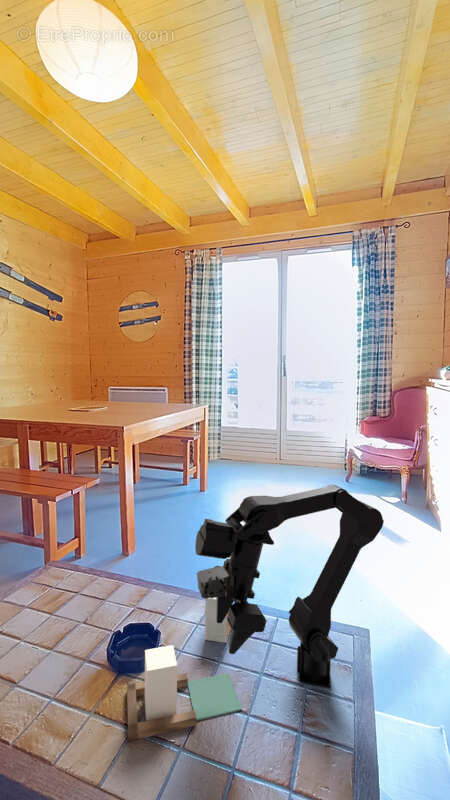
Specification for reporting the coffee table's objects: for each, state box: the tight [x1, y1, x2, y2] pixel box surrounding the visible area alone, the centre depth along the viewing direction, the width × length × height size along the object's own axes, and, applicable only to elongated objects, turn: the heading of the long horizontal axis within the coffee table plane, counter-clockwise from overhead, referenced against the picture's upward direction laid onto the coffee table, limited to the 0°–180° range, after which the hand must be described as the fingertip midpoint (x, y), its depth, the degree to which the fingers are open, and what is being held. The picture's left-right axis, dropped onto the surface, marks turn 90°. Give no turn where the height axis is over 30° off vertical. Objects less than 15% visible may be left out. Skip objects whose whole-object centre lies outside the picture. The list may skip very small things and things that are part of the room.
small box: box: [204, 597, 234, 644], centre depth 93 cm, size 8×6×10 cm
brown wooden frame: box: [126, 672, 197, 742], centre depth 71 cm, size 12×11×2 cm
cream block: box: [144, 644, 178, 721], centre depth 70 cm, size 6×6×10 cm
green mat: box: [187, 672, 243, 722], centre depth 73 cm, size 9×9×1 cm
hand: (224, 637), depth 74 cm, fingers open, 9 cm apart
